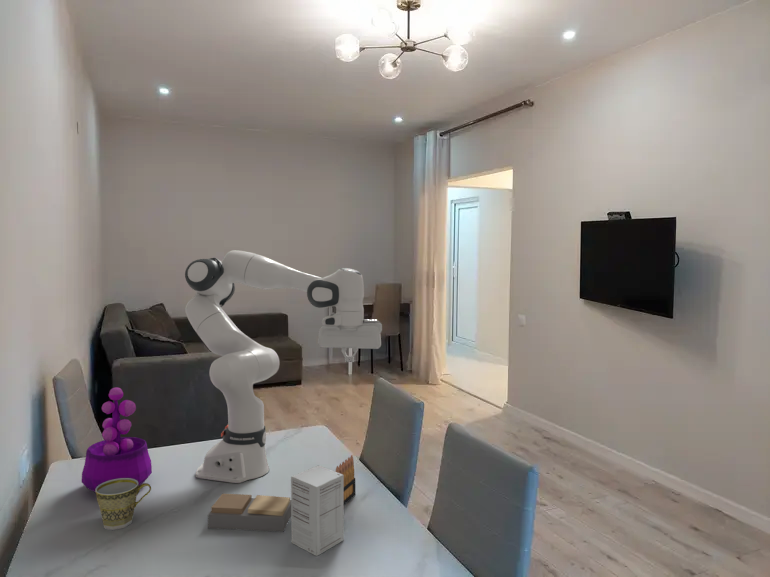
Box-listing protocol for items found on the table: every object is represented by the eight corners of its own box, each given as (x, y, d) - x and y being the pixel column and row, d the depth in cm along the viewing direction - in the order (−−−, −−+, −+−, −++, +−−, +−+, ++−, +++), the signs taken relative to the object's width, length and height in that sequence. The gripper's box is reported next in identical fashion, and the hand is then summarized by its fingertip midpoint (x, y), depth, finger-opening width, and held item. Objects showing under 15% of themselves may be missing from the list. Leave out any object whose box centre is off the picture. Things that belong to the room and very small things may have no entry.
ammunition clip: (338, 510, 151) (338, 467, 150) (332, 509, 152) (332, 466, 151) (355, 494, 161) (356, 454, 160) (350, 493, 161) (350, 453, 161)
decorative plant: (146, 469, 176) (144, 377, 174) (158, 491, 161) (156, 390, 159) (79, 482, 166) (76, 384, 164) (84, 507, 150) (82, 399, 148)
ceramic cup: (96, 537, 135) (95, 497, 135) (96, 519, 144) (95, 482, 143) (153, 525, 141) (152, 487, 140) (150, 509, 150) (149, 473, 149)
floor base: (208, 528, 140) (207, 509, 140) (222, 509, 150) (221, 491, 150) (283, 531, 139) (283, 512, 139) (292, 512, 149) (292, 494, 149)
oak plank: (247, 513, 140) (247, 509, 140) (257, 499, 148) (257, 495, 148) (282, 515, 140) (282, 511, 140) (290, 501, 148) (290, 497, 148)
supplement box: (318, 528, 141) (318, 464, 140) (344, 540, 135) (345, 473, 134) (289, 543, 134) (289, 475, 132) (316, 557, 128) (316, 486, 127)
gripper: (382, 318, 179) (382, 360, 180) (320, 317, 180) (320, 358, 181) (381, 321, 173) (381, 364, 174) (316, 319, 174) (316, 362, 175)
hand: (349, 361), depth 178 cm, fingers closed
